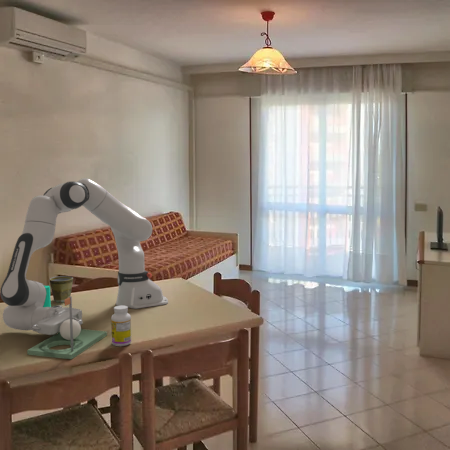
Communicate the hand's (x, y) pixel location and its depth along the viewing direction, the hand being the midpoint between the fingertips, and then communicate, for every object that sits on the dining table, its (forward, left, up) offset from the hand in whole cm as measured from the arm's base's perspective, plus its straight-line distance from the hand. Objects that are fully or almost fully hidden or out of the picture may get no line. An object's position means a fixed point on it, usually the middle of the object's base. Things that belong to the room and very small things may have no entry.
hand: (80, 323), depth 192 cm
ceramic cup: (+3, -57, -6) cm, 57 cm away
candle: (+11, -40, -6) cm, 42 cm away
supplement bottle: (-13, +10, -6) cm, 17 cm away
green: (+4, +5, -6) cm, 9 cm away
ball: (+4, +4, -1) cm, 6 cm away
